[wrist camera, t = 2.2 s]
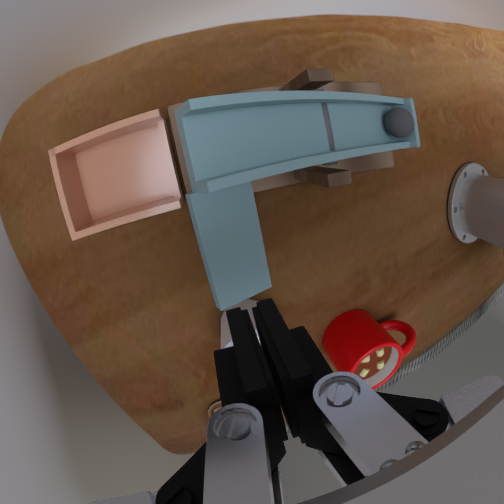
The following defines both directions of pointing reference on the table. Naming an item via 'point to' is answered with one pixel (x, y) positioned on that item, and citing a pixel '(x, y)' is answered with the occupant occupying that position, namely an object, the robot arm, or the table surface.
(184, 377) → the table surface
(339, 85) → the launcher base
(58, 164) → the pink open box
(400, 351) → the mug
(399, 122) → the ball
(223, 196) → the lever
